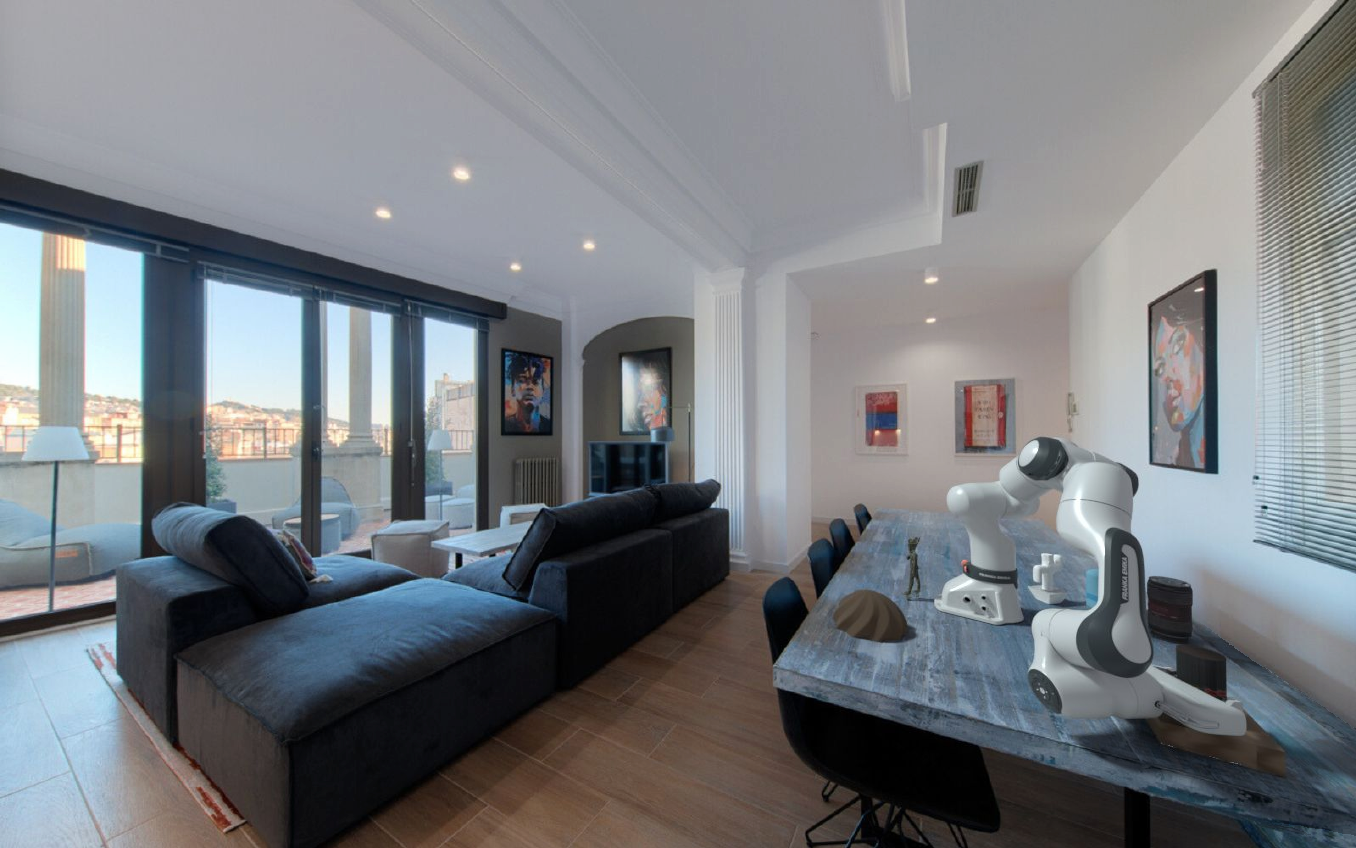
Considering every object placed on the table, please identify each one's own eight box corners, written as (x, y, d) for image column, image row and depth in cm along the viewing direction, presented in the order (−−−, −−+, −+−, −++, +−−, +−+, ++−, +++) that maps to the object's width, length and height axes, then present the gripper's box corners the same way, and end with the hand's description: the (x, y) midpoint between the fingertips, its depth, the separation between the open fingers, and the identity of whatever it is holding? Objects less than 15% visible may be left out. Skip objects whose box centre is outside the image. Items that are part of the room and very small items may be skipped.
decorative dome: (839, 607, 140) (839, 575, 140) (910, 620, 130) (910, 586, 130) (825, 631, 123) (824, 595, 124) (905, 649, 113) (904, 610, 113)
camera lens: (1150, 639, 117) (1149, 581, 117) (1145, 628, 123) (1144, 573, 123) (1197, 648, 112) (1196, 588, 112) (1189, 636, 118) (1188, 579, 118)
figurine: (1024, 597, 145) (1024, 551, 145) (1049, 595, 147) (1048, 549, 147) (1046, 606, 138) (1046, 558, 138) (1072, 604, 140) (1071, 556, 140)
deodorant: (1238, 749, 77) (1237, 662, 78) (1197, 744, 79) (1195, 659, 79) (1206, 726, 83) (1204, 645, 83) (1167, 722, 84) (1166, 643, 85)
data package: (1099, 614, 132) (1099, 574, 132) (1085, 608, 136) (1085, 569, 136) (1140, 614, 132) (1139, 573, 132) (1124, 608, 136) (1124, 568, 136)
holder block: (1160, 744, 79) (1160, 721, 79) (1135, 702, 91) (1135, 682, 91) (1285, 777, 71) (1285, 752, 71) (1240, 727, 83) (1240, 705, 83)
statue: (897, 596, 148) (896, 535, 148) (916, 595, 148) (915, 535, 148) (905, 601, 143) (904, 539, 143) (924, 601, 143) (923, 538, 143)
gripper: (1195, 708, 71) (1283, 707, 71) (1079, 644, 91) (1146, 643, 91) (1196, 748, 71) (1283, 747, 71) (1079, 675, 91) (1147, 674, 91)
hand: (1205, 688), depth 81 cm, fingers open, 8 cm apart
